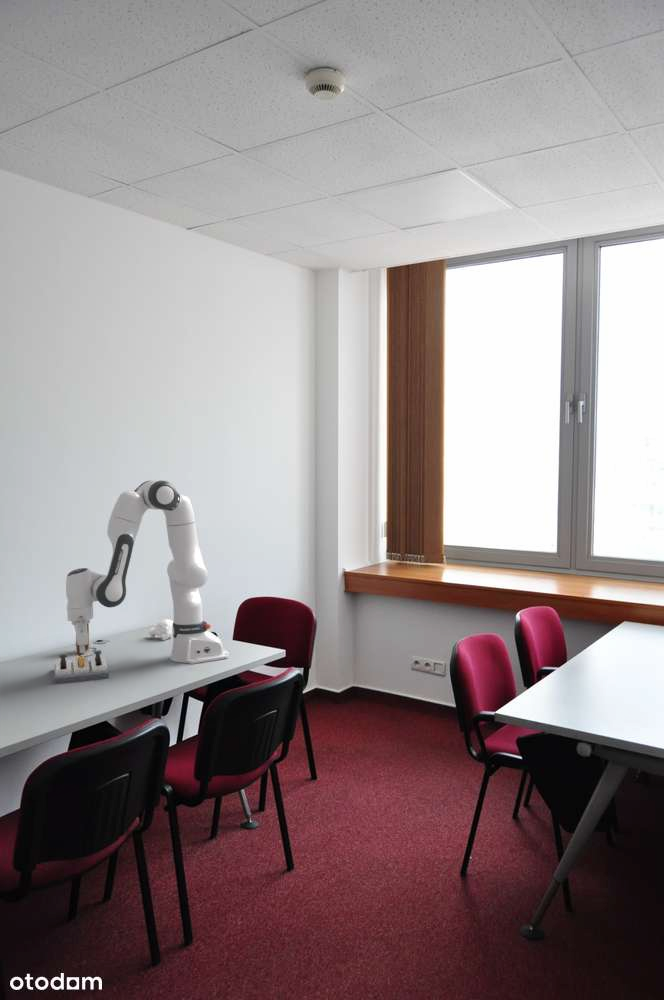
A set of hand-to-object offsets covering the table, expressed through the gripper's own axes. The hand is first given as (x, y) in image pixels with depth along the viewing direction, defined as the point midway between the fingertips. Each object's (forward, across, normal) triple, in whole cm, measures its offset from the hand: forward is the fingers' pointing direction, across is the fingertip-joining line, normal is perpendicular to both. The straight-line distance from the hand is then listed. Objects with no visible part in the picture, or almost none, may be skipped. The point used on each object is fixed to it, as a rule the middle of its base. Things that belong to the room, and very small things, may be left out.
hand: (82, 651), depth 266 cm
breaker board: (+8, +2, +1) cm, 9 cm away
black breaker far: (+6, +5, +7) cm, 10 cm away
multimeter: (+9, +32, -4) cm, 34 cm away
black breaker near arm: (+6, +5, -5) cm, 10 cm away
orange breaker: (+6, -2, +1) cm, 6 cm away
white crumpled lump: (+10, +45, -33) cm, 57 cm away
